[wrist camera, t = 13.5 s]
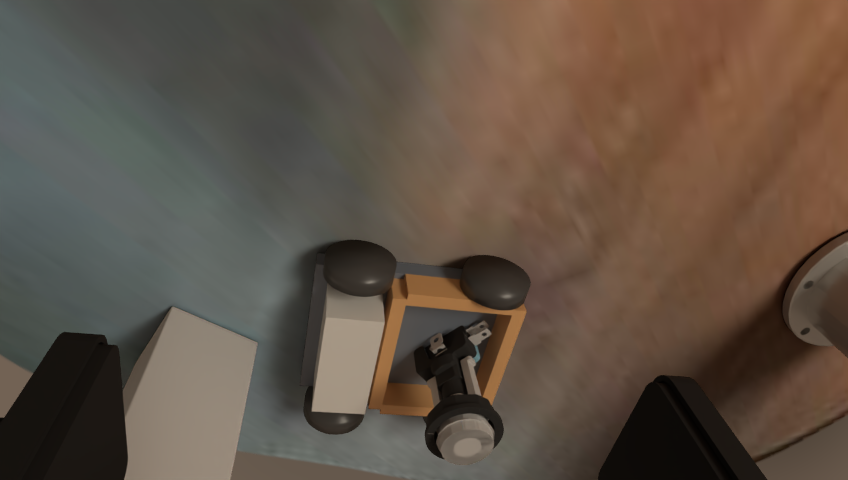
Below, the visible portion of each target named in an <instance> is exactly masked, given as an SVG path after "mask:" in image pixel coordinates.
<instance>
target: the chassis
mask: <svg viewBox="0 0 848 480" xmlns="http://www.w3.org/2000/svg"><path fill="white" fill-rule="evenodd" d="M530 283H531V282H530V278H529V276H528V275H527V273H526V272H525V271H524V270H523V269H522V268H520V267H519V266H518V265H516V264H514V263H512V262H510V261H508V260H506V259H503V258H499V257H495V256H489V255H479V256H474V257H471V258H469V259H468V260H467V261H466V262H465V264H464V268H463V269H457V268H448V267H439V266H430V265H421V264H412V263H403V262H396V259H395V257H394V256H393V255H392V253H391V252H389V251H388V250H387V249H385V248H383V247H382V246H379V245H377V244H374V243H371V242H367V241H361V240H346V241H340V242H337V243H335V244H333V245H331V246H330V247H329V248H328V249H327V251H326V254H322V253H317V258H316V265H315V273H314V280H313V288H312V295H311V303H310V310H309V318H308V325H307V333H306V341H305V348H304V356H303V363H302V371H301V380H300V386H309V387H308V389H307V391H306V395H305V401H304V416H305V418H306V420H307V422H308V423H309V424H310V425H311V426H312V427H313V428H315V429H316V430H318V431H320V432H323V433H327V434H344V433H348V432H350V431H352V430H354V429H355V428H357V427H358V426H359V425H360V423H361V422H362V420H363V418H364V414H365V411H366V406H367V402H368V406H369V409H380V414H394V415H412V416H423V419H424V421H425V423H426V422H427V415H428V413H429V412H430V411H431V410H432V409H433V408H434V405H433V399H432V393H431V389H430V388H429V387H428V385H427V382H426V381H425V380H424V379H423V378H422V377H421V376H420V375H418V374H417V373H416V367H415V360H414V351H415V350H416V349H417V348H419V347H421V346H423V347H424V348H426V347H427V346H429V345H430V344H431V343H430V339H431V338H432V337H433V336H435V335H437V334H438V333H441V334H442V337H443V336H445V335H446V334H448V333H450V332H451V331H453V330H454V329H456V328H457V327H459V326H461V325H462V326H464V327H465V328H466V329H468V328H470V327H471V326H472V327H474V326H476V325H477V324H479V323H480V322H482V321H485V322H486V323H487V324H488V325H489V327H488V328H487V329H488V330H489V331H490V332H491V333H492V334H491V335H490V336H488V337H487V338H485V339H484V340H482V341H481V343H480V344H478V345H477V347H478V351H479V353H480V360H479V361H478V362H476V365H475V366H474V370H475V374H476V378H477V381H478V385H479V389H480V393H481V396H482V397H484V398H486V399H488V400H489V402H490V404H491V405H492V403H493V400H494V398H495V395H496V392H497V390H498V387H499V384H500V382H501V379H502V376H503V374H504V371H505V368H506V366H507V363H508V360H509V358H510V355H511V352H512V349H513V347H514V344H515V341H516V339H517V336H518V333H519V331H520V328H521V325H522V323H523V320H524V317H525V315H526V312H527V311H526V308H525V306H524V304H523V303H524V301H525V298H526V295H527V293H528V290H529V287H530ZM483 327H484V325H480V326H479V328H483ZM486 334H487V333H485V332H484V333H482V336H485V335H486ZM438 339H439V338H436V339H435V340H434V342H435V341H437V340H438ZM436 432H437V430H436Z"/></svg>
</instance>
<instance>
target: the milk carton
mask: <svg viewBox="0 0 848 480" xmlns="http://www.w3.org/2000/svg"><path fill="white" fill-rule="evenodd" d="M257 345H258V343H257V342H255V341H253V340H251V339H248V338H246V337H244V336H241V335H239V334H237V333H234V332H232V331H230V330H227V329H225V328H223V327H220V326H218V325H216V324H213V323H211V322H209V321H206V320H204V319H202V318H199V317H197V316H194V315H192V314H190V313H187V312H185V311H183V310H180V309H178V308H176V307H171V309H170V310H169V311H168V313H167V315H166V316H165V318H164V319H163V321H162V322H161V324H160V326H159V327H158V329H157V330H156V332H155V333H154V335H153V337H152V338H151V340H150V341H149V343H148V344H147V346H146V348H145V349H144V351H143V352H142V354H141V355H140V357H139V359H138V360H137V362H136V364H135V365H134V368H133V370H132V372H131V374H130V376H129V379H128V381H127V383H126V385H125V387H124V389H123V403H124V414H125V426H126V438H127V449H128V465H127V470H126V474H125V478H124V480H230V479H231V474H232V469H233V464H234V459H235V454H236V449H237V444H238V439H239V434H240V429H241V424H242V419H243V414H244V409H245V404H246V399H247V394H248V389H249V384H250V380H251V375H252V370H253V365H254V360H255V355H256V350H257Z"/></svg>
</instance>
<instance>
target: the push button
mask: <svg viewBox="0 0 848 480" xmlns="http://www.w3.org/2000/svg"><path fill="white" fill-rule="evenodd" d="M480 325H484V327H483V328H479V326H480ZM488 327H489V325H488V324H487V323H486V322H485V321H482V322H480V323H479V324H477V325H476V326H474V327H472V326H471V327H470V328H468V329H466V328H465V327H464V326H462V325H461V326H459V327H457V328H456V329H454V330H453V331H451V332H450V333H448V334H446V335H445V336H443V337H442V334H441V333H438V334H437V335H435V336H433V337H432V338H431V339H430V343H431V344H430V345H429V346H427V347H426V348H424V347H423V346H421V347H419V348H417V349H416V350H415V351H414V360H415V367H416V373H417V374H418V375H420V376H421V377H422V378H423V379H424V380H425V381H426V382H427V385H428V387H429V388H430V389H431V393H432V399H433V405H434V408H433V409H432V410H431V411H430V412H429V413H428V415H427V422H426V426H427V427H426V430H425V440H426V445H427V447H428V449H429V450H430V451H431V452H432V453H433V454H434V455H436V456H437V457H439V458H442V459H445V460H447V461H448V462H449V463H453V464H456V465H469V464H473V463H476V462H478V461H481V460H483V459H484V458H485V457H486V456H488V455H489V454H490V453H491V451H492V449H493V448H495V447H496V446H497V444H498V443H499V442H500V440H501V438H502V436H503V431H504V428H503V423H502V420H501V417H500V416H499V414H498V413H497V412H496V411H495V410H494V409H493V407H492V405H491V404H490V402H489V400H488V399H486V398H484V397H482V396H481V393H480V389H479V385H478V381H477V378H476V374H475V370H474V366H475V365H476V362H478V361H479V360H480V353H479V351H478V347H477V345H478V344H480V343H481V341H482V340H484V339H485V338H487V337H488V336H490V335H491V334H492V333H491V332H490V331H489V330H488V329H487V328H488ZM484 332H485V333H487V334H486V335H485V336H482V333H484ZM436 338H439V339H438V340H437V341H435V342H434V340H435V339H436ZM488 419H489V421H488ZM436 430H437V432H436Z"/></svg>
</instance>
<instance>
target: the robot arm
mask: <svg viewBox="0 0 848 480" xmlns="http://www.w3.org/2000/svg"><path fill="white" fill-rule="evenodd" d="M783 317H784V321H785V323H786V324H787V326H788V328H789V329H790V330H791V331H792V332H793V333H794V334H795V335H796V336H797V337H798V338H800V339H801V340H803V341H804V342H806V343H810V344H813V345H818V346H835V347H836V348H837V349H838V350H839V351H841V352H842V353H843V354H844V355H845V356H846V357H847V358H848V232H847V233H845V234H843V235H841V236H839V237H837V238H835V239H834V240H832V241H831V242H829V243H828V244H826V245H825V246H823V247H822V248H820V249H819V250H818V251H817V252H816V253H815V254H813V255H812V256H811V257H810V258H809V259H808V260H807V261H806V262H805V263H804V264H803V265H802V267H801V268H800V269H799V270H798V272H797V273H796V274H795V276H794V277H793V279H792V280H791V282H790V284H789V286H788V288H787V291H786V293H785V297H784V301H783ZM127 465H128V449H127V438H126V426H125V414H124V403H123V391H122V380H121V368H120V356H119V349H118V346H116V345H108V344H107V339H106V337H105V336H104V335H97V334H83V333H69V332H63V333H61V334H60V335H59V336H58V337H57V339H56V340H55V342H54V343H53V345H52V346H51V348H50V349H49V351H48V352H47V354H46V355H45V357H44V358H43V360H42V361H41V363H40V364H39V366H38V367H37V369H36V370H35V372H34V373H33V375H32V376H31V378H30V379H29V381H28V383H27V384H26V386H25V387H24V389H23V390H22V392H21V393H20V395H19V397H18V398H17V399H16V401H15V402H14V404H13V406H12V407H11V408H10V410H9V411H8V413H7V414H6V416H5V417H4V418H0V480H124V478H125V474H126V470H127ZM598 480H767V479H766V477H765V476H764V474H763V473H762V472H761V470H760V469H759V468H758V466H757V465H756V463H755V462H754V461H753V459H752V458H751V457H750V455H749V454H748V452H747V451H746V450H745V448H744V447H743V446H742V444H741V443H740V441H739V440H738V439H737V437H736V436H735V435H734V433H733V432H732V430H731V429H730V428H729V426H728V425H727V424H726V422H725V421H724V419H723V418H722V417H721V415H720V414H719V413H718V411H717V410H716V408H715V407H714V406H713V404H712V403H711V401H710V400H709V399H708V397H707V396H706V395H705V393H704V392H703V390H702V389H701V388H700V386H699V385H698V384H697V383H696V382H695V381H694V379H692V378H690V377H680V376H666V375H660V376H658V377H656V378H655V380H654V381H653V382H651V383H649V384H648V385H647V386H646V388H645V390H644V391H643V393H642V395H641V397H640V399H639V400H638V402H637V404H636V406H635V408H634V410H633V411H632V413H631V415H630V417H629V419H628V421H627V422H626V424H625V426H624V428H623V430H622V431H621V433H620V435H619V437H618V439H617V441H616V442H615V444H614V446H613V448H612V450H611V451H610V453H609V455H608V457H607V459H606V461H605V462H604V464H603V466H602V468H601V470H600V472H599V476H598Z"/></svg>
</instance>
